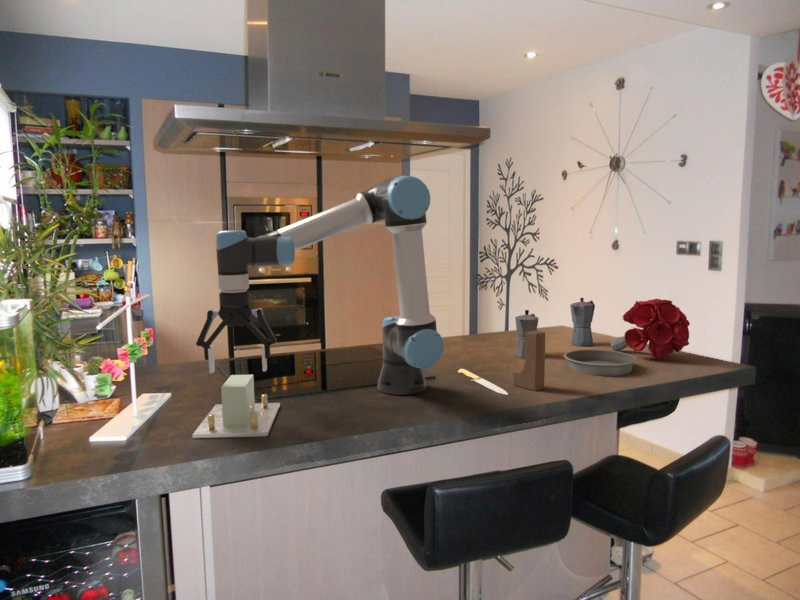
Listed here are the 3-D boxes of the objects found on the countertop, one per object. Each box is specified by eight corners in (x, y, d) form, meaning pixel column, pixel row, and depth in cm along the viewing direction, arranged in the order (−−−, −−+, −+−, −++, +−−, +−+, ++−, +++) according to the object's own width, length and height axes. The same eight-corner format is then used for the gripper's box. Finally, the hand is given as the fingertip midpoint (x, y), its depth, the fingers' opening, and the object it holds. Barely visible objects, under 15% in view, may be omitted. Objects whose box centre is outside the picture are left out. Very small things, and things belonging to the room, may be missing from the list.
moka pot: (562, 345, 251) (563, 298, 249) (581, 340, 262) (583, 294, 259) (582, 348, 244) (584, 300, 242) (601, 343, 255) (603, 296, 252)
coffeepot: (531, 360, 224) (533, 313, 222) (508, 357, 229) (509, 311, 227) (544, 352, 237) (546, 308, 235) (522, 350, 242) (523, 306, 240)
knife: (498, 395, 179) (512, 391, 180) (451, 370, 209) (463, 367, 211) (499, 399, 179) (512, 395, 181) (452, 373, 209) (464, 370, 211)
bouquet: (611, 375, 228) (683, 347, 208) (587, 318, 235) (655, 285, 215) (638, 369, 243) (708, 343, 222) (615, 316, 250) (681, 285, 229)
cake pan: (594, 357, 230) (594, 346, 229) (651, 371, 209) (652, 358, 208) (548, 366, 217) (549, 354, 216) (604, 381, 196) (605, 368, 195)
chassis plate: (279, 406, 171) (279, 390, 170) (267, 436, 147) (266, 418, 146) (215, 407, 170) (215, 392, 169) (192, 438, 146) (191, 420, 145)
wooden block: (512, 385, 191) (513, 329, 188) (521, 382, 194) (523, 328, 191) (535, 391, 184) (536, 334, 182) (544, 388, 187) (546, 332, 184)
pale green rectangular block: (254, 409, 164) (253, 374, 163) (246, 424, 152) (245, 386, 151) (232, 410, 164) (231, 375, 163) (222, 425, 152) (221, 387, 151)
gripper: (284, 287, 158) (288, 365, 161) (188, 290, 157) (193, 369, 159) (281, 291, 151) (284, 373, 154) (180, 293, 149) (185, 376, 152)
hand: (238, 371), depth 157 cm, fingers open, 13 cm apart
